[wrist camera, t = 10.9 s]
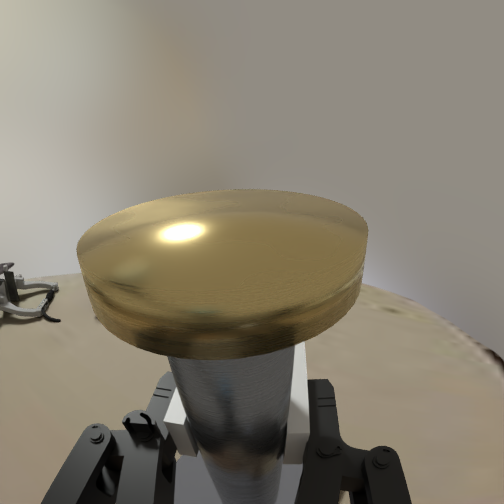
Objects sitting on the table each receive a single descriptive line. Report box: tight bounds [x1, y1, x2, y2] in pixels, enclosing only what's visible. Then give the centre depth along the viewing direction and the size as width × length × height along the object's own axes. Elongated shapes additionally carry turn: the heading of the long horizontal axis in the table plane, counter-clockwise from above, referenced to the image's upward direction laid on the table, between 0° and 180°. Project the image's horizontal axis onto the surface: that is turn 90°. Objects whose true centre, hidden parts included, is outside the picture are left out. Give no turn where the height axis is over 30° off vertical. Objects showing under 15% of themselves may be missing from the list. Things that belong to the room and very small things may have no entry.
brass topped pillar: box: [77, 189, 368, 504], centre depth 10 cm, size 6×6×17 cm
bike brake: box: [0, 265, 61, 322], centre depth 42 cm, size 14×7×20 cm
